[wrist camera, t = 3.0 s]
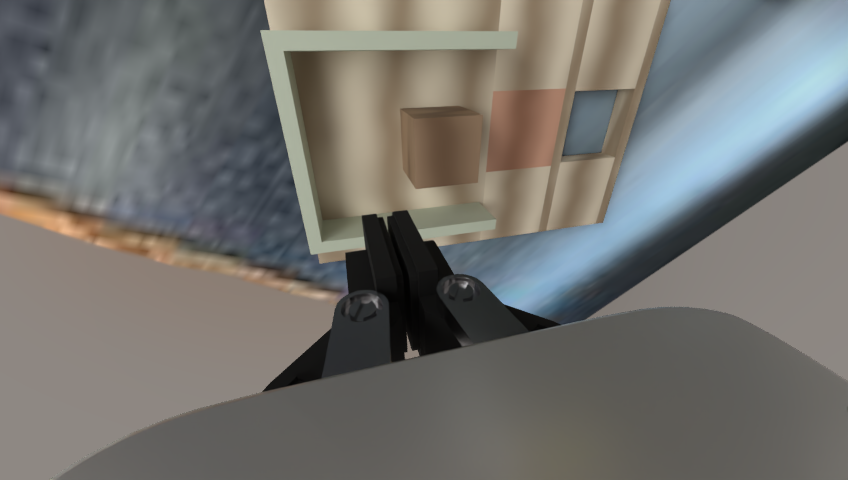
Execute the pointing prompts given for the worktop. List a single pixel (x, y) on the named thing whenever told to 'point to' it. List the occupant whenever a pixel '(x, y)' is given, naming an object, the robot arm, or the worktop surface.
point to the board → (472, 104)
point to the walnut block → (441, 145)
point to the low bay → (278, 55)
